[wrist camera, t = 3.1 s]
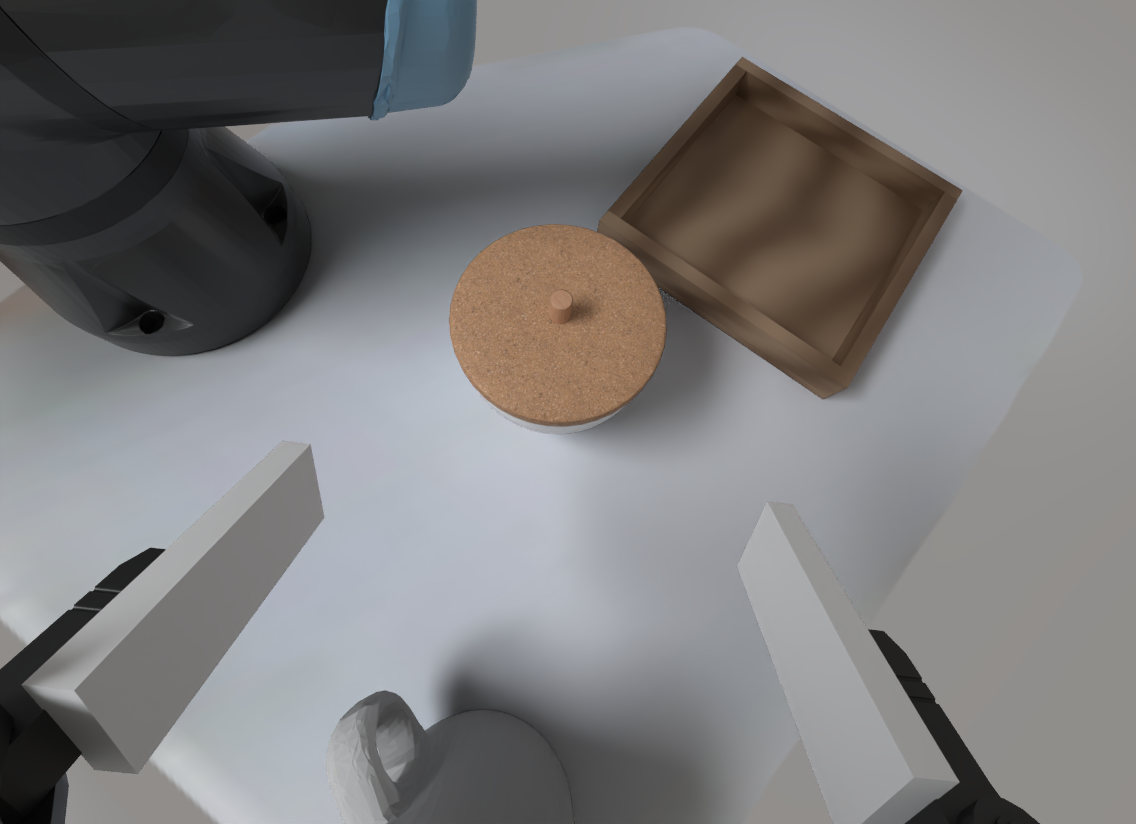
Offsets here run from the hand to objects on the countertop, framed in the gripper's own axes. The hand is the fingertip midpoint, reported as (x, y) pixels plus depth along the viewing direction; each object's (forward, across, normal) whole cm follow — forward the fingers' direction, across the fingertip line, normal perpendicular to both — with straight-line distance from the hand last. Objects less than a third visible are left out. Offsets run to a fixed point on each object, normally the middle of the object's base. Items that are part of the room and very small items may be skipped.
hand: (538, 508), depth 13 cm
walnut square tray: (+26, +14, +6) cm, 31 cm away
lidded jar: (+17, 0, -3) cm, 17 cm away
